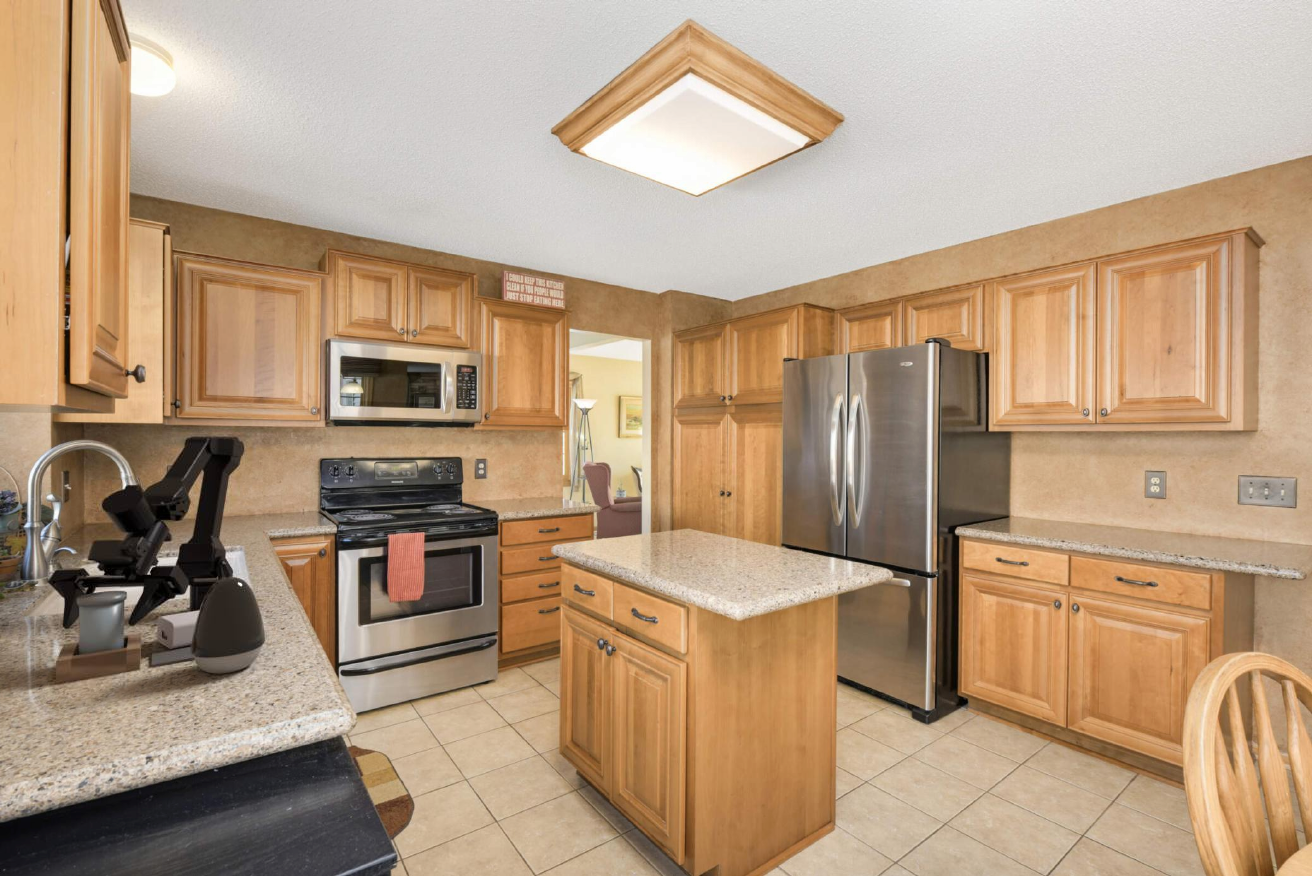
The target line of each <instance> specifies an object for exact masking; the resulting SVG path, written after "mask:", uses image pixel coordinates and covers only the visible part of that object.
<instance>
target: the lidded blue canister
mask: <svg viewBox="0 0 1312 876" xmlns="http://www.w3.org/2000/svg"><path fill="white" fill-rule="evenodd" d="M127 595H128V592H127V591H125V590H106V591H96V592H94V593H91V594H86V595H82V596H80V597H78V598H77V605H78V606H79V617H78V642H79V655H82V654H88V653H95V652H101V651H107V650H114V649H120V648H124V635H125V601H126V600H127V599H128V596H127Z"/></svg>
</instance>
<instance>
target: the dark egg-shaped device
mask: <svg viewBox="0 0 1312 876" xmlns="http://www.w3.org/2000/svg"><path fill="white" fill-rule="evenodd" d="M265 643H266V633H265V626H264V621H263V617H262V612H261V609H260V606H259V603H258V600H257V598H256V595H255V593H254V591H253V590H252V588H251V587H250V585H249V584H248V582H246V581H245V580H244V579H242V578H239V577H236V576H233V577H227V578H226V577H222V578H221V579H220V580H219V581H217V582H216V583H215V584H214V585H213V586H212V587H211V588H210V590H209V591H208V593H207V595H206V596H205V598H204V600H203V603H202V605H201V608H200V611H199V614H198V617H197V620H196V623H195V627H194V631H193V636H192V641H191V645H190V647H191V654H192V655H193V657H194V660H193V661H194V663H195V664H196V666H197V667H199V668H200V670H202V671H204V672H205V673H209V674H214V675H219V674H220V675H222V674H230V673H234V672H238V671H241V670H243V669H245V668H247V667H249V666H250V665H251V664H253V663H254V662H255V661H256V660H257V659H258V657H259V656H260V653H261V651H262V649H263V646H264V644H265Z"/></svg>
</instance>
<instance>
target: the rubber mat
mask: <svg viewBox="0 0 1312 876" xmlns="http://www.w3.org/2000/svg"><path fill="white" fill-rule="evenodd" d="M189 661H195V660H194V657H193V655H192V654H191V646H186V647H180V648H174V649H169V650H165V651H157V652H152V653H151V668H155V667H161V666H167V665H173V664H177V663H184V662H189Z"/></svg>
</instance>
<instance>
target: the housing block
mask: <svg viewBox="0 0 1312 876" xmlns="http://www.w3.org/2000/svg"><path fill="white" fill-rule="evenodd" d="M141 660H142V633H141V632H140V633H138V632H137V633H133V634H132V633H130V634H126V635H125V634H124V648H120V649H114V650H107V651H101V652H95V653H88V654H82V655H79V641H76V642H70V643H63V645H62V648H61V649H60V652H59V654H58V656H57V659H56V661H55V664H56V665H55V684H56V685H57V684H63V683H68V682H74V681H79V680H80V681H81V680H86V679H91V678H92V679H93V678H97V677H103V676H108V675H115V674H121V673H126V672H131V671H137V670H138V671H139V670H141Z"/></svg>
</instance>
